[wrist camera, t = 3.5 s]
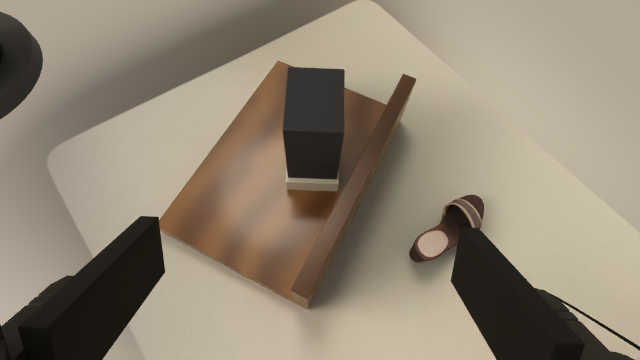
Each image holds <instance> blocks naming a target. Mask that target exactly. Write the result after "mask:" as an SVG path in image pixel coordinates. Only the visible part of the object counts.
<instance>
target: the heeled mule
mask: <svg viewBox="0 0 640 360" xmlns="http://www.w3.org/2000/svg"><path fill="white" fill-rule="evenodd" d="M483 214H484V204H483V201H482V199H481V198H480V197H478V196H476V195H467V196H464V197H461V198H459V199H456V200H454V201H452V202H451V203H449V204H447V205H446V206H445V208H444V212H443V215H442V221H441V223H440V224H439V225H438V226H436V227H434V228H432V229H430V230H428V231H426V232H424V233H422V234H421V235H420V236H418V237H417V239H416V240H415V243H414V245H413V247H412V248H411V250H410V257H411V259H412V260H414V261H415V262H422V261H427V260H432V259H435V258H437V257H438V256H440V255H441V254H442V253H443V252H445V251H446V250H448V249H449V248H450V247H452V246H453V245H455V244H457V243H458V240H459V235H460V229H461V227H467V228H479V229H480V228H481V221H482V218H483Z"/></svg>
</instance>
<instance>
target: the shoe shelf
mask: <svg viewBox="0 0 640 360" xmlns="http://www.w3.org/2000/svg"><path fill="white" fill-rule="evenodd" d="M288 67H293V66H290V65H288V64H285V63H283V62H280V61H277V63H276V64H275V65H274V67H273V68H272V70H271V71H270V72H269V74H268V75H267V76H266V78H265V79H264V80H263V82H262V83H261V84H260V86H259V87H258V88H257V90H256V91H255V92H254V94H253V95H252V96H251V98H250V99H249V100H248V102H247V103H246V104H245V106H244V107H243V108H242V110H241V111H240V113H239V114H238V115H237V117H236V118H235V119H234V121H233V122H232V123H231V125H230V126H229V127H228V129H227V130H226V131H225V133H224V134H223V135H222V137H221V138H220V139H219V141H218V142H217V143H216V145H215V146H214V147H213V149H212V150H211V152H210V153H209V154H208V156H207V157H206V158H205V160H204V161H203V162H202V164H201V165H200V166H199V168H198V169H197V170H196V172H195V173H194V174H193V176H192V177H191V178H190V180H189V181H188V182H187V184H186V185H185V186H184V188H183V189H182V191H181V192H180V193H179V195H178V196H177V197H176V199H175V200H174V201H173V203H172V204H171V205H170V207H169V208H168V209H167V211H166V212H165V213H164V215H163V216H162V217H161V219H160V220H159V226H160V230H161V231H162V232H164V233H166V234H168V235H169V236H171V237H173V238H175V239H177V240H179V241H181V242H182V243H184V244H186V245H188V246H190V247H192V248H194V249H195V250H197V251H199V252H201V253H203V254H205V255H207V256H209V257H210V258H212V259H214V260H216V261H218V262H220V263H222V264H223V265H225V266H227V267H229V268H231V269H233V270H235V271H236V272H238V273H240V274H242V275H244V276H246V277H248V278H249V279H251V280H253V281H255V282H257V283H259V284H261V285H262V286H264V287H266V288H268V289H270V290H272V291H274V292H275V293H277V294H279V295H281V296H283V297H285V298H287V299H289V300H290V301H292V302H294V303H296V304H298V305H300V306H302V307H303V308H305V309H307V310H308V309H309V307H310V304H311V302H312V300H313V298H314V296H315V294H316V292H317V290H318V288H319V286H320V284H321V282H322V280H323V278H324V276H325V274H326V272H327V270H328V268H329V266H330V264H331V261H332V259H333V257H334V255H335V253H336V251H337V249H338V247H339V245H340V243H341V241H342V239H343V237H344V235H345V233H346V231H347V229H348V227H349V225H350V223H351V221H352V218H353V216H354V214H355V212H356V210H357V208H358V206H359V204H360V202H361V200H362V198H363V196H364V194H365V192H366V190H367V188H368V186H369V184H370V182H371V180H372V177H373V175H374V173H375V171H376V169H377V167H378V165H379V163H380V161H381V159H382V157H383V155H384V153H385V151H386V149H387V147H388V145H389V143H390V141H391V139H392V137H393V134H394V132H395V130H396V128H397V126H398V124H399V122H400V120H401V117H402V115H403V112H404V110H405V107H406V105H407V102H408V100H409V97H410V95H411V92H412V90H413V87H414V85H415V82H416V79H415V78H413V77H410V76H408V75H405V74H403V75H402V77H401V79H400V81H399V83H398V85H397V87H396V89H395V90H394V92H393V94H392V96H391V98H390V100H389V102H388V104H387V105H385V104H383V103H381V102H378V101H376V100H373V99H371V98H368V97H366V96H363V95H361V94H359V93H356V92H354V91H351V90H349V89H346V88H344V138H343V144H342V150H341V156H340V162H339V184H338V190H337V191H310V190H287V187H286V173H287V165H286V156H285V148H284V139H283V131H282V130H283V119H284V107H285V96H286V85H287V73H288Z"/></svg>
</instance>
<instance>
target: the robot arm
mask: <svg viewBox="0 0 640 360" xmlns="http://www.w3.org/2000/svg"><path fill="white" fill-rule="evenodd" d="M2 54H3V49H2V45H1V42H0V62H1V59H2ZM164 273H165V268H164V259H163V251H162V243H161V234H160V226H159V218H158V217H147V216H140V217H139V218H138V219H137V220H136V221H135V222H134V223H132V224H131V225H130V226H129V227H128V228H127V229H126V230H125V231H124V232H122V233H121V234H120V235H119V236H118V237H117V238H116V239H115V240H113V241H112V242H111V243H110V244H109V245H108V246H107V247H106V248H105V249H103V250H102V251H101V252H100V253H99V254H98V255H97V256H96V257H94V258H93V259H92V260H91V261H90V262H89V263H88V264H87V265H86V266H84V267H83V268H82V269H81V270H80V271H79V272H78V273H77V274H76V275H74V276H66V277H64V278H62V279H60V280H58V281H56V282H54V283H52V284H51V285H50V286H48V287H47V288H46V289H45V290H44V291H43V292H41V293H40V294H39V296H38V297H35V298H34V299H33V300H32V301H31V302H30V303H29V304H28V306H25V307H24V308H22V309H21V310H20V311H19V312H18V313H17V314H15V315H14V316H13V317H12V318H11V319H10V320H8V322H6V323H5V324H4V325H2V326H1V325H0V360H102V359H103V358H104V356H105V355H106V354H107V352H108V351H109V349H110V348H111V347H112V345H113V344H114V342H115V341H116V340H117V338H118V337H119V335H120V334H121V333H122V331H123V330H124V328H125V327H126V326H127V324H128V323H129V322H130V320H131V319H132V317H133V316H134V315H135V313H136V312H137V310H138V309H139V308H140V306H141V305H142V303H143V302H144V301H145V299H146V298H147V296H148V295H149V294H150V292H151V291H152V289H153V288H154V287H155V285H156V284H157V282H158V281H159V280H160V278H161V277H162V275H163V274H164ZM451 282H452V284H453V286H454V287H455V289H456V291H457V292H458V294H459V296H460V298H461V299H462V301H463V303H464V304H465V306H466V308H467V310H468V311H469V313H470V315H471V316H472V318H473V320H474V322H475V323H476V325H477V327H478V328H479V330H480V332H481V334H482V335H483V337H484V339H485V340H486V342H487V344H488V346H489V347H490V349H491V351H492V352H493V354H494V356H495V357H496V359H497V360H634V359H632V358H630V357H628V356H626V355H623V354H620V353H617V352H610V351H609V350H608V349H607V348H606V347H605V346H604V345H603V344H602V343H601V342H600V341H599V340H598V339H597V338H596V337H595V336H594V335H593V334H592V333H591V332H590V331H589V330H588V329H587V328H586V327H585V326H584V325H583V324H582V323H581V322H580V321H578V319H577V318H576V316H575V315H574V314H573V313H572V312H569V309H568V308H567V307H566V306H565V305H564V304H563V303H562V302H561V301H560V300H559V299H557V298H556V297H554V296H553V295H551V294H549V293H548V292H546V291H545V290H535V289H534V288H533V286H532V285H531V284H530V283H529V282H528V281H527V280H526V279H525V278H524V277H523V276H522V275H521V274H520V272H519V271H518V270H517V269H516V268H515V267H514V266H513V265H512V264H511V263H510V262H509V261H508V259H507V258H506V257H505V256H504V255H503V254H502V253H501V252H500V251H499V250H498V249H497V248H496V246H495V245H494V244H493V243H492V242H491V241H490V240H489V239H488V238H487V237H486V236H485V235H484V234H483V232H482V231H481V230H480V229H479V228H467V227H461V229H460V235H459V240H458V245H457V251H456V256H455V261H454V267H453V272H452V277H451Z"/></svg>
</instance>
